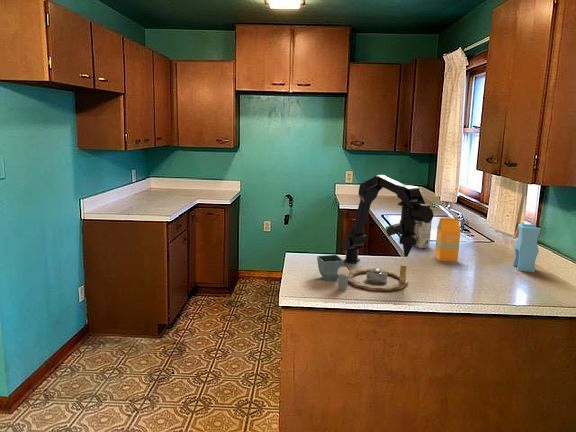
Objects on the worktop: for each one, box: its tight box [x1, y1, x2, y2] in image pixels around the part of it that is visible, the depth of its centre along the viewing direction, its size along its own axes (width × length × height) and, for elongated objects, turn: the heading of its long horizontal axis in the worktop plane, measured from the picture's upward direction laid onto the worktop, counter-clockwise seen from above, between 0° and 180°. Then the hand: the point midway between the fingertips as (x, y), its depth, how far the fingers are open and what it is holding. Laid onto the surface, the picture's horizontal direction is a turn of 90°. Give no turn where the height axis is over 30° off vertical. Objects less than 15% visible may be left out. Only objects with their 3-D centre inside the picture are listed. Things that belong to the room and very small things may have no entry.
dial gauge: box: [337, 266, 350, 292], centre depth 182 cm, size 3×4×9 cm
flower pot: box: [316, 254, 345, 282], centre depth 194 cm, size 9×9×9 cm
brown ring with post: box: [348, 264, 409, 292], centre depth 192 cm, size 24×24×8 cm
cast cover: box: [365, 267, 388, 286], centre depth 193 cm, size 8×8×5 cm
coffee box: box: [414, 219, 433, 249], centre depth 250 cm, size 9×6×16 cm
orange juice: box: [434, 217, 461, 262], centre depth 226 cm, size 8×9×20 cm
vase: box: [512, 223, 542, 273], centre depth 212 cm, size 8×8×20 cm
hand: (405, 256), depth 188 cm, fingers closed
